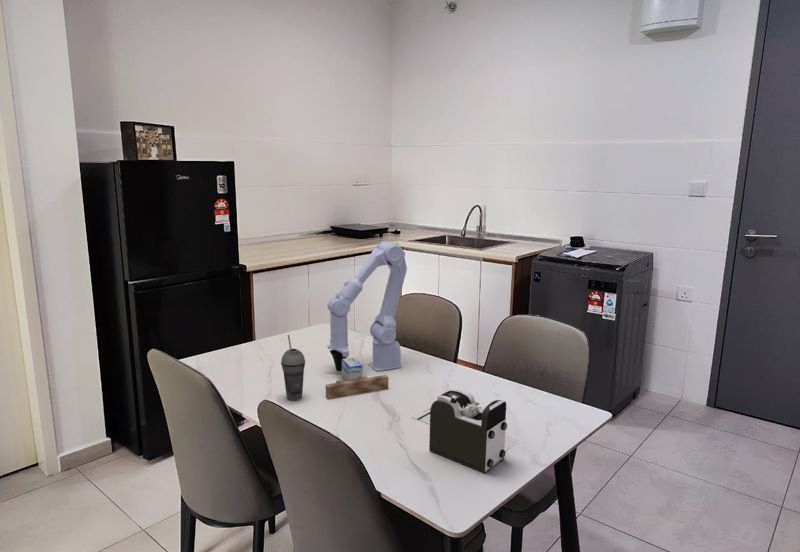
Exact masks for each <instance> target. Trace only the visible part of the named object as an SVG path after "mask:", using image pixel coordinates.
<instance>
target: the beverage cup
mask: <svg viewBox="0 0 800 552" xmlns="http://www.w3.org/2000/svg"><path fill="white" fill-rule="evenodd" d="M287 340H288V345H289V346H288V347H289V349H288V350H286V351H285V352H284V353H283V355H282V356H281V361H280V365H281V369H282V373H283V377H284V378H283V379H284V386H285V393H286V399H287V401H289V402H297V401H300V400H302V399H303V392H304V391H303V390H304V389H303V388H304V375H305V373H304V372H305V367H306V366H305V365H306V359H305V356H304V354H303V353H304V352H302V351H301V350H299V349H297V348H292V344H291V338H290V334H288V335H287Z"/></svg>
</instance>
